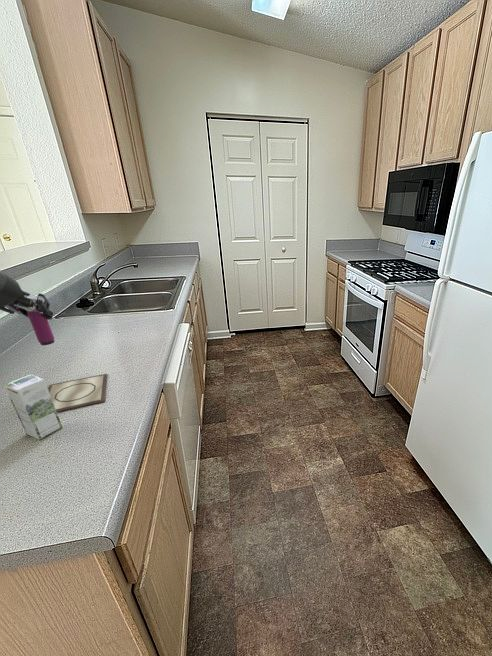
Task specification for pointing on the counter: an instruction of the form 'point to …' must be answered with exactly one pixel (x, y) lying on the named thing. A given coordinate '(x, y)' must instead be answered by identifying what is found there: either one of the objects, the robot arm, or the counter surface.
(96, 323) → the counter surface
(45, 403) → the syrup box
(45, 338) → the cylinder
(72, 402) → the board
